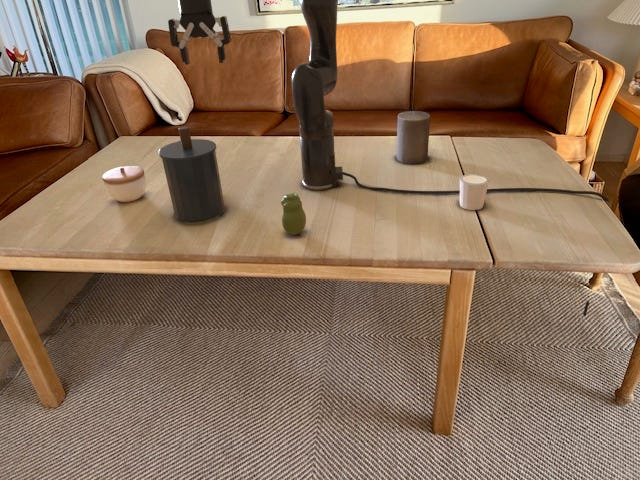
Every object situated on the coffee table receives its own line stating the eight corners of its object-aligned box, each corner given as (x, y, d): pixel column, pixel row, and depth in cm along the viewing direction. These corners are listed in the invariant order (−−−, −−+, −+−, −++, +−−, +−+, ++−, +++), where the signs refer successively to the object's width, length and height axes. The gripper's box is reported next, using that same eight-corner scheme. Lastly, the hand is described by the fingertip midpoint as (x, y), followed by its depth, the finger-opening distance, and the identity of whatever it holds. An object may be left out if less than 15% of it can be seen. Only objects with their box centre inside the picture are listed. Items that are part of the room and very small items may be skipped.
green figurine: (287, 240, 109) (283, 200, 104) (279, 230, 113) (275, 192, 108) (310, 234, 111) (307, 195, 106) (301, 225, 115) (298, 187, 110)
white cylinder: (470, 213, 116) (473, 187, 112) (451, 203, 121) (453, 177, 118) (491, 206, 118) (495, 180, 115) (472, 196, 124) (475, 171, 120)
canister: (228, 201, 129) (218, 140, 120) (220, 223, 118) (208, 158, 109) (182, 203, 129) (169, 143, 121) (169, 225, 118) (154, 161, 110)
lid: (221, 142, 121) (217, 118, 118) (211, 161, 109) (206, 135, 106) (168, 145, 121) (162, 121, 118) (152, 164, 110) (145, 138, 107)
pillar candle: (432, 156, 150) (435, 108, 143) (420, 166, 143) (423, 116, 136) (403, 151, 155) (405, 105, 148) (390, 161, 148) (392, 113, 141)
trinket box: (101, 204, 131) (91, 173, 126) (127, 189, 139) (119, 158, 135) (133, 209, 127) (124, 176, 123) (157, 193, 136) (150, 161, 131)
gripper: (157, -8, 108) (172, 67, 116) (220, -11, 108) (230, 64, 116) (166, -9, 115) (180, 62, 123) (225, -13, 114) (235, 59, 122)
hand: (204, 63), depth 119 cm, fingers open, 8 cm apart
